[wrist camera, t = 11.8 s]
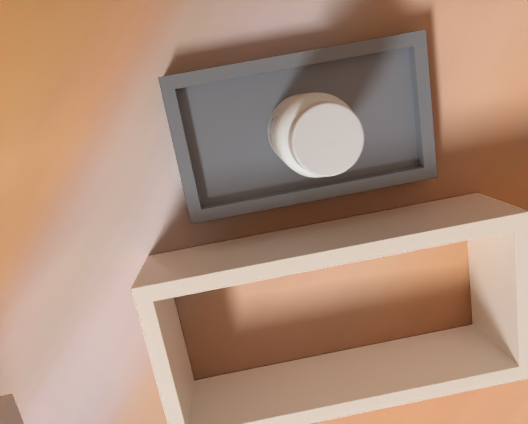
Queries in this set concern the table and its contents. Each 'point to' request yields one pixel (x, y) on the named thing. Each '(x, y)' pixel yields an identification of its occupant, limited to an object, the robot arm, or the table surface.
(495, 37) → the table surface
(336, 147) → the pill bottle
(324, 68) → the tray
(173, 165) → the table surface
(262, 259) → the cream storage bin
